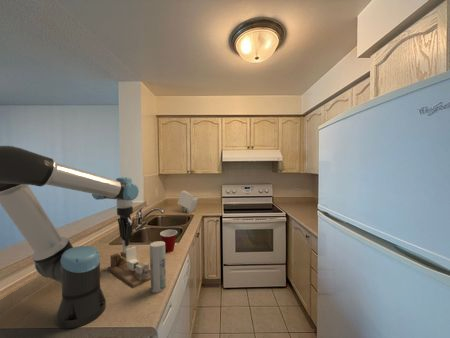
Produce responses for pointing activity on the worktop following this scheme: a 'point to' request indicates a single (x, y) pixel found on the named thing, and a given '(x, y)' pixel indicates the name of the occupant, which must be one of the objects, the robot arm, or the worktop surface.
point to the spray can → (157, 266)
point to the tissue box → (187, 201)
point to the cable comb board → (125, 273)
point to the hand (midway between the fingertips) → (126, 251)
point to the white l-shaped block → (131, 258)
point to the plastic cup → (169, 239)
